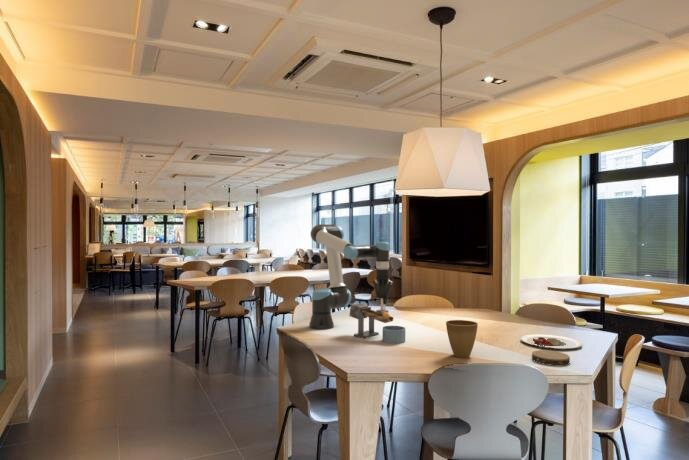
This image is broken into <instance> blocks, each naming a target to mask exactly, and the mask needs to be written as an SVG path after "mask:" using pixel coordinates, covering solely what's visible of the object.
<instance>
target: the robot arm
mask: <svg viewBox="0 0 689 460" xmlns="http://www.w3.org/2000/svg"><path fill="white" fill-rule="evenodd" d="M344 237H345V235H344V230H343V229H342V227H341V226H340V225H338V224H316V225H314V226H313V227H312V228H311V230H310V238H311V239H312V241H314V243H317V244H319V245H323V248H325V250H326V260H327V267H328V268H327V269H328V275H329V284H330V285H329V286H328V287H325V288H316V289H315V290H313V291H312V294H311V295H312V297H311V300H312V301H311V302H312V303H311V305H312V308H311V310H312V311H311V313H312V314H311V317H310V320H309V328H310V329H314V330H328V329H332V328H334V326H335V323H334V321H333V318H332V310H333V309H339V308H340V309H341V308H346V307H347V306H349V305H350V303H351V300H352V293H351V291H350V289H348V288H347V285H346V284H345V283H344V276H343V270H342V269H343V268H342V261H341V254H343V256H344V257H345V258H346V259H349V260H356V259H357V260H358V259H360V260H361V259H375V268H376V270H375V276H376V278H375V279H374V280H372V284H373V286H374V290H375V294H376V295H375V296H376V298H379V304H380V309H381V310H387V308H386V305H387V299H388V298H390V294H391V290H392V286H393V284H394V281H393V280H390V269H389V268H390V245H389V242H387V241H376V243H375V244H374V245H371V244H370V245H369V244H365V245H356V244H353V243H351V242H349V241H347V240H344Z"/></svg>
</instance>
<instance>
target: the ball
mask: <svg viewBox="0 0 689 460" xmlns="http://www.w3.org/2000/svg"><path fill="white" fill-rule="evenodd" d="M389 317H390V313H389V312H388V313H387V312H385V313H383V318H385V319H386V320H387V319H389Z"/></svg>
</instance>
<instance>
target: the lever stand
mask: <svg viewBox="0 0 689 460" xmlns="http://www.w3.org/2000/svg"><path fill="white" fill-rule="evenodd" d="M364 320H365V318H364V313H358V319H357V321H358V322H357V323H358V324H357V333H354V334H353V337H355V338H361V339H369V338H371V337H375V336H379V335H380V334H379V332H377V331H375V319H372V318H369V317H368V330H365V329H364V328H365V326H364V325H365V324H364V322H365V321H364Z"/></svg>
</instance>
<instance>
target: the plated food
mask: <svg viewBox="0 0 689 460" xmlns="http://www.w3.org/2000/svg"><path fill="white" fill-rule="evenodd" d="M531 338H533V341H534V344H537V345H535V346H534V347H537V346H539V345H540V346H539V347H538V348H542V347H545V346H564V345H566V343H564V342H561V341H560V340H557V339H562V340H567V341H571V342H574V343H575V344H576V346H574V347H571V348H554V347H545V348H544V349H548V348H554V349H553V350H570V349H578V348H580V347H582V346H583V343H582V342H581V341H579V340H576V339H574V338H570V337H567V336H561V335H554V334H539V333H538V334H537V333H536V334H527V335H522V336H521V337H520V341H522V342H523V343H526V344H529V345H531V346H533V345H534V344H531V343H529V342H527V340H528V339H531ZM534 338H538V339H534ZM545 338H548V339H547V340H546V339H545ZM543 345H544V346H543Z"/></svg>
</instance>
